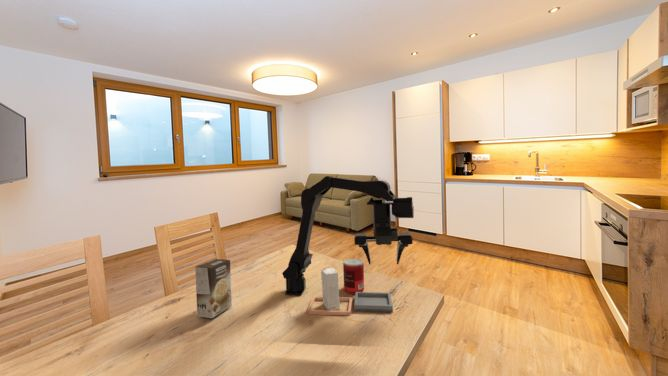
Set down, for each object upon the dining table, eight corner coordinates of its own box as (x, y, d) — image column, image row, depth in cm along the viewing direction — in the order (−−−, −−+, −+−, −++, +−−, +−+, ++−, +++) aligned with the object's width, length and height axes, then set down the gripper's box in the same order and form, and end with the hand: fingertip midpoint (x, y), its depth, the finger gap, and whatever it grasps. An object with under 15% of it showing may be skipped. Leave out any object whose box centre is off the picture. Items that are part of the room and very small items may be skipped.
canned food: (364, 285, 107) (363, 258, 107) (364, 294, 99) (363, 264, 99) (344, 285, 108) (343, 258, 108) (343, 294, 100) (342, 264, 100)
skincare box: (340, 309, 89) (339, 272, 88) (327, 312, 87) (326, 274, 87) (334, 301, 94) (333, 267, 94) (321, 304, 93) (320, 268, 93)
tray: (354, 311, 87) (354, 304, 87) (355, 297, 97) (355, 291, 97) (392, 312, 86) (392, 305, 86) (390, 298, 96) (389, 292, 96)
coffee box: (212, 319, 85) (209, 268, 84) (196, 316, 87) (194, 266, 87) (232, 305, 94) (230, 259, 93) (217, 303, 96) (215, 258, 95)
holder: (306, 314, 86) (306, 310, 86) (313, 299, 97) (313, 296, 97) (350, 315, 85) (350, 312, 85) (352, 300, 95) (352, 297, 95)
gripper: (352, 222, 84) (354, 272, 85) (414, 221, 82) (416, 272, 83) (354, 217, 96) (356, 261, 96) (409, 216, 93) (410, 261, 94)
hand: (383, 264), depth 92 cm, fingers open, 9 cm apart
